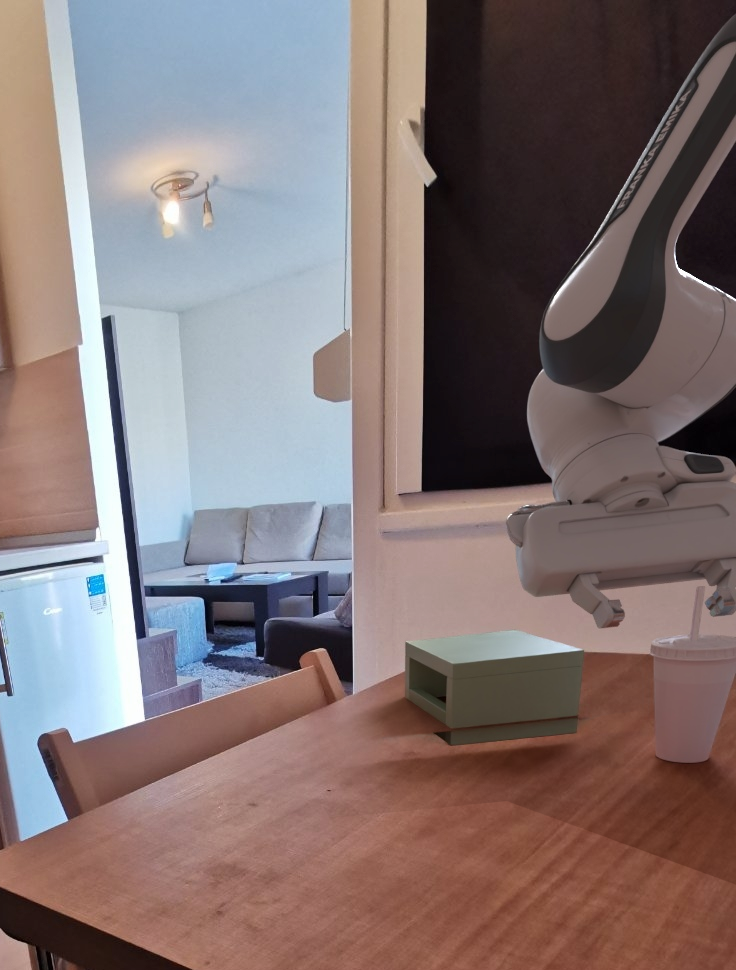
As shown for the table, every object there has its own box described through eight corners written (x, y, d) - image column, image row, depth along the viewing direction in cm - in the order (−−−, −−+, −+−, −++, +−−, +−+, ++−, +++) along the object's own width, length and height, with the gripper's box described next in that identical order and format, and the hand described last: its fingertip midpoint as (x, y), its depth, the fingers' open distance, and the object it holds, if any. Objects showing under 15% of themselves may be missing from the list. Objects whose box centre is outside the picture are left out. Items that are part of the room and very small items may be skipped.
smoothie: (619, 754, 66) (637, 589, 61) (671, 740, 68) (694, 579, 63) (692, 773, 61) (719, 593, 56) (748, 757, 62) (778, 581, 58)
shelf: (511, 700, 86) (515, 629, 83) (576, 733, 73) (584, 649, 70) (404, 711, 87) (405, 641, 84) (450, 745, 74) (453, 663, 71)
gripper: (512, 482, 67) (559, 606, 62) (750, 455, 66) (821, 579, 61) (489, 534, 73) (529, 652, 67) (707, 510, 72) (768, 628, 66)
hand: (669, 617), depth 64 cm, fingers open, 8 cm apart
